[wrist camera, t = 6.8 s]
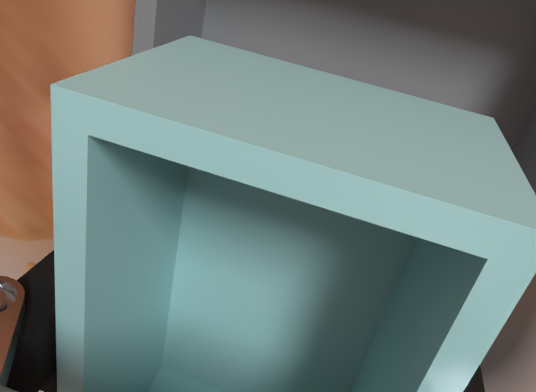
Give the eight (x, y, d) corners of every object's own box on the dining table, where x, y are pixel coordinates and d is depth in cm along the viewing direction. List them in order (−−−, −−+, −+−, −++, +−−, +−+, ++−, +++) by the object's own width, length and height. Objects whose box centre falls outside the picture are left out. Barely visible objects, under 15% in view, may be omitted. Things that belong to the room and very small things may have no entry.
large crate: (211, -134, 24) (145, -165, 18) (625, -43, 21) (711, -43, 15) (171, 202, 34) (119, 255, 28) (453, 293, 31) (464, 373, 25)
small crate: (190, 35, 11) (50, 84, 7) (493, 117, 10) (558, 236, 6) (151, 359, 16) (59, 504, 12) (348, 433, 15) (325, 617, 11)
